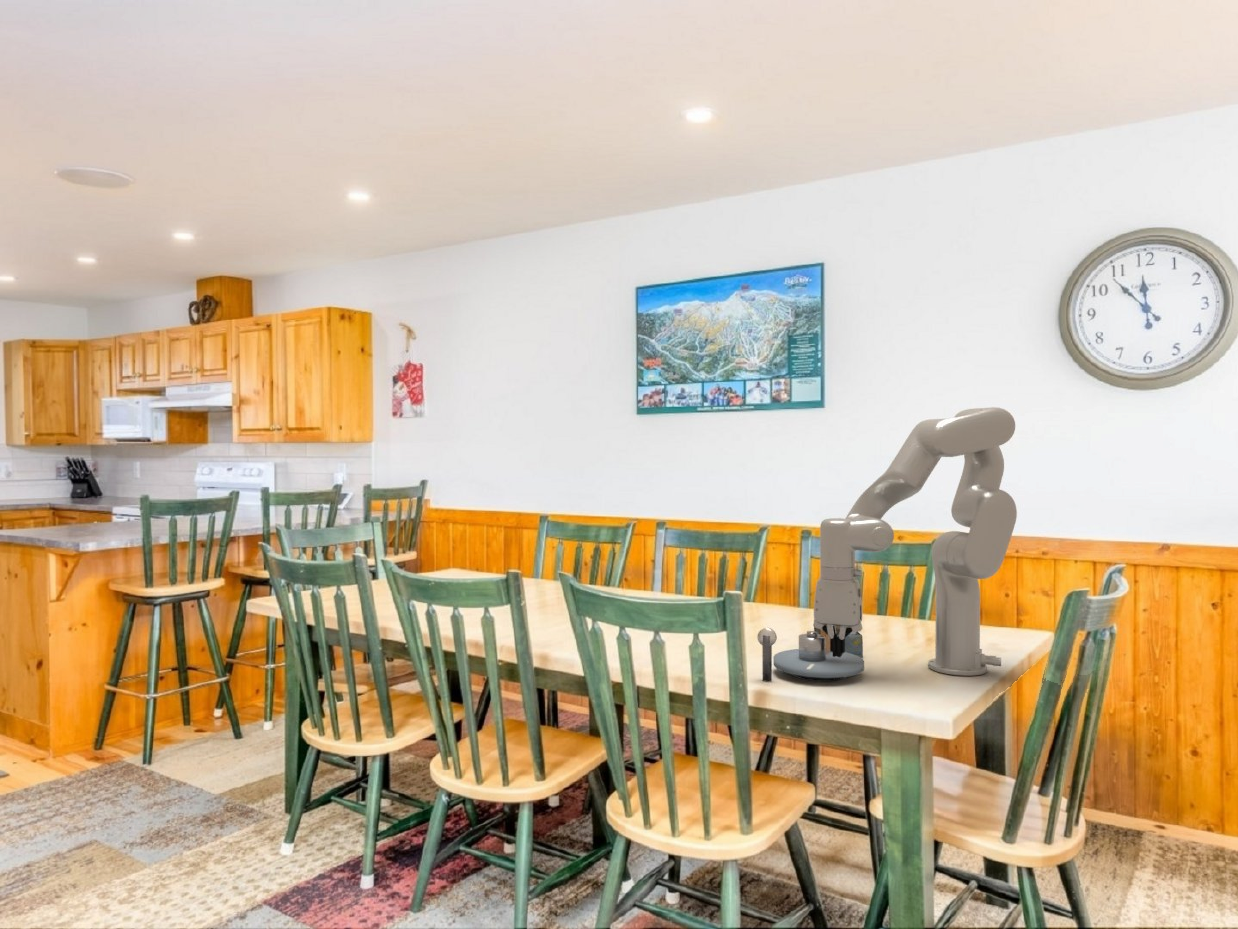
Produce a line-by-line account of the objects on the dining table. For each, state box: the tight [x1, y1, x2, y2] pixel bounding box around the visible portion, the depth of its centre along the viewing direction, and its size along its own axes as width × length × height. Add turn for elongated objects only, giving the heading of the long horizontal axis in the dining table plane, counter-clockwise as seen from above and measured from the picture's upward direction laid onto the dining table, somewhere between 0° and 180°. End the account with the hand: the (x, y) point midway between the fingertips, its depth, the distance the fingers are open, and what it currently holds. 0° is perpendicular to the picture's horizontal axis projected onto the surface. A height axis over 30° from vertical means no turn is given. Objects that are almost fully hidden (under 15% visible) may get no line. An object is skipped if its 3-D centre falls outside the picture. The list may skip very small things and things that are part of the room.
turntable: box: [772, 629, 865, 678], centre depth 196 cm, size 20×20×8 cm
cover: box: [798, 630, 826, 662], centre depth 196 cm, size 6×6×6 cm
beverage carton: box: [813, 625, 864, 659], centre depth 219 cm, size 8×19×7 cm, turn 0°
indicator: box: [757, 627, 778, 682], centre depth 190 cm, size 4×2×12 cm, turn 64°
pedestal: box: [792, 674, 845, 682], centre depth 195 cm, size 12×12×2 cm
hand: (837, 655), depth 194 cm, fingers closed
